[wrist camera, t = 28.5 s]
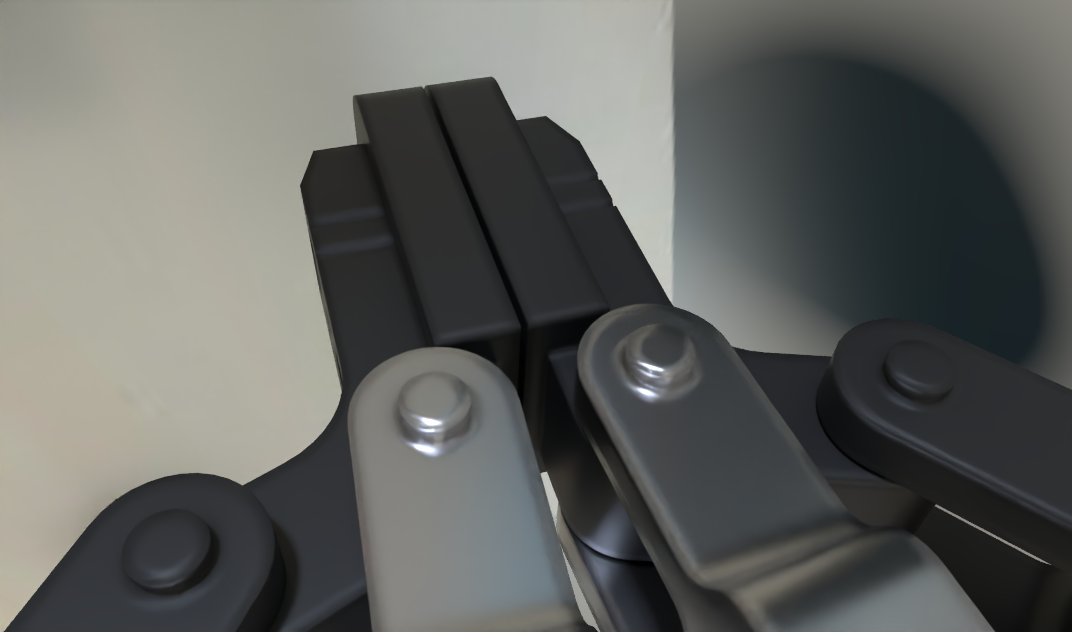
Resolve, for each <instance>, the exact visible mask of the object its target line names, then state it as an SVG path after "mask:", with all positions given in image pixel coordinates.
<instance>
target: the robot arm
mask: <svg viewBox="0 0 1072 632" xmlns="http://www.w3.org/2000/svg"><path fill="white" fill-rule="evenodd" d="M353 109H354V119H355V127H356V136H357V145H350V146H343V147H337V148H330V149H323V150H317V151H313V154H312V156H311V159H310V161H309V164H308V167H307V169H306V172H305V174H304V177H303V180H302V182H301V185H300V188H301V193H302V199H303V204H304V209H305V215H306V220H307V226H308V231H309V237H310V242H311V247H312V253H313V258H314V264H315V269H316V274H317V280H318V285H319V290H320V295H321V299H322V304H323V309H324V313H325V318H326V322H327V326H328V331H329V336H330V340H331V345H332V349H333V354H334V358H335V363H336V367H337V372H338V377H339V381H340V386H341V390H342V394H341V398H340V402H339V405H338V408H337V410H336V412H335V414H334V416H333V418H332V420H331V421H330V423H329V424H328V426H327V427H326V429H325V430H324V431H323V433H322V434H321V435H320V436H319V437H318V438H317V439H316V440H315V441H314V442H313V443H312V444H311V445H310V446H308V447H307V448H306V449H305V450H304V451H302V452H301V453H300V454H298V455H297V456H295V457H293V458H292V459H290V460H289V461H287V462H285V463H284V464H282V465H280V466H278V467H276V468H274V469H273V470H271V471H269V472H267V473H265V474H263V475H262V476H260V477H258V478H256V479H254V480H252V481H251V482H249V483H247V484H245V485H243V486H242V485H240V484H238V483H236V482H234V481H232V480H230V479H227V478H224V477H220V476H216V475H211V474H202V473H189V474H178V475H172V476H167V477H163V478H160V479H157V480H153V481H150V482H147V483H145V484H143V485H141V486H139V487H137V488H135V489H132V490H131V491H129V492H127V493H126V494H124V495H123V496H121V497H120V498H118V499H116V500H115V501H114V502H113V503H111V504H110V505H109V506H108V507H107V508H105V509H104V510H103V511H102V512H101V513H100V514H99V515H98V516H97V517H96V518H95V519H94V520H93V522H92V523H91V524H90V525H89V526H88V527H87V528H86V530H85V531H84V532H83V533H82V535H81V536H80V537H79V538H78V540H77V541H76V542H75V543H74V545H73V546H72V547H71V548H70V550H69V551H68V552H67V553H66V555H65V556H64V557H63V558H62V560H61V561H60V562H59V563H58V565H57V566H56V567H55V568H54V570H53V571H52V572H51V573H50V575H49V576H48V577H47V578H46V580H45V581H44V582H43V583H42V585H41V586H40V587H39V588H38V590H37V591H36V592H35V593H34V595H33V596H32V597H31V598H30V600H29V601H28V602H27V603H26V605H25V606H24V607H23V608H22V610H21V611H20V612H19V613H18V615H17V616H16V617H15V618H14V620H13V621H12V622H11V623H10V625H9V626H8V627H7V628H6V630H5V631H4V632H598V631H597V630H596V629H595V628H594V627H593V626H590V625H588V624H587V623H586V622H585V621H584V620H583V617H582V615H581V613H580V610H579V608H578V605H577V602H576V599H575V595H574V592H573V588H572V585H571V581H570V578H569V574H568V571H567V567H566V563H565V560H564V556H563V553H562V549H563V552H564V553H565V556H566V558H567V560H568V562H569V565H570V567H571V569H572V571H573V573H574V575H575V577H576V580H577V582H578V584H579V586H580V589H581V591H582V593H583V595H584V597H585V599H586V602H587V604H588V606H589V608H590V610H591V612H592V615H593V617H594V619H595V621H596V623H597V625H598V628H599V630H600V632H1072V390H1071V389H1069V388H1066V387H1064V386H1062V385H1060V384H1058V383H1055V382H1053V381H1051V380H1049V379H1047V378H1044V377H1042V376H1040V375H1038V374H1036V373H1033V372H1031V371H1029V370H1027V369H1024V368H1022V367H1020V366H1018V365H1016V364H1014V363H1011V362H1009V361H1007V360H1005V359H1003V358H1000V357H998V356H996V355H994V354H992V353H990V352H987V351H985V350H983V349H981V348H978V347H976V346H974V345H972V344H970V343H967V342H965V341H963V340H961V339H959V338H956V337H954V336H952V335H950V334H948V333H946V332H944V331H941V330H939V329H936V328H934V327H931V326H929V325H926V324H922V323H919V322H915V321H910V320H903V319H878V320H872V321H869V322H865V323H862V324H860V325H858V326H856V327H854V328H852V329H851V330H850V331H848V332H847V333H846V334H845V335H844V336H843V337H842V338H841V340H840V341H839V342H838V345H837V347H836V349H835V351H834V353H833V356H832V357H829V356H811V355H796V354H780V353H764V352H756V351H748V350H744V349H739V348H736V347H732V346H731V345H730V343H729V342H728V341H727V339H725V337H724V336H723V335H722V333H721V332H719V331H718V330H717V329H716V328H715V327H714V326H713V325H711V324H710V323H709V322H707V321H705V320H704V319H702V318H700V317H699V316H697V315H695V314H693V313H691V312H688V311H686V310H683V309H680V308H677V307H674V306H673V305H672V303H671V302H670V301H669V299H668V297H667V295H666V293H665V292H664V290H663V288H662V286H661V285H660V283H659V281H658V279H657V277H656V276H655V274H654V272H653V270H652V269H651V267H650V265H649V263H648V262H647V260H646V258H645V256H644V254H643V253H642V251H641V249H640V247H639V246H638V244H637V242H636V240H635V239H634V237H633V235H632V233H631V231H630V230H629V228H628V226H627V224H626V223H625V221H624V219H623V217H622V216H621V214H620V212H619V210H618V208H617V207H616V206H613V203H612V198H611V196H610V194H609V193H608V191H607V189H606V187H605V185H604V184H603V182H602V180H598V173H597V171H596V170H595V168H594V166H593V164H592V162H591V161H590V159H589V157H588V155H587V154H586V152H585V150H584V148H583V146H582V145H581V143H580V141H578V140H577V139H576V138H574V137H573V136H572V135H570V134H569V133H568V132H566V131H565V130H564V129H562V128H561V127H560V126H558V125H557V124H556V123H554V122H553V121H552V120H550V119H549V118H548V117H546V116H543V117H536V118H529V119H523V120H516V119H515V117H514V115H513V113H512V111H511V109H510V107H509V105H508V103H507V101H506V99H505V97H504V95H503V93H502V91H501V89H500V87H499V85H498V83H497V81H496V80H495V79H494V78H493V77H485V78H478V79H471V80H463V81H456V82H448V83H441V84H434V85H427V86H425V88H424V89H423V87H414V88H406V89H399V90H392V91H384V92H377V93H370V94H362V95H355V96H353ZM542 472H547V473H548V475H549V478H550V481H551V483H552V486H553V489H554V491H555V494H556V496H557V499H558V502H559V503H558V511H557V522H556V528H557V531H556V528H555V524H554V521H553V517H552V513H551V510H550V506H549V503H548V499H547V496H546V492H545V488H544V485H543V481H542V478H541V474H540V473H542ZM936 504H937V505H939V506H941V507H943V508H945V509H946V510H948V511H950V512H952V513H954V514H956V515H958V516H960V517H962V518H964V519H966V520H967V521H969V522H971V523H973V524H975V525H977V526H979V527H981V528H983V529H984V530H986V531H989V532H990V533H992V534H994V535H996V536H998V537H1000V538H1002V539H1003V540H1005V541H1007V542H1009V543H1011V544H1013V545H1015V546H1017V547H1019V548H1021V549H1023V550H1024V551H1026V552H1028V553H1030V554H1032V555H1034V556H1036V557H1038V558H1040V559H1042V560H1044V561H1045V562H1047V563H1049V564H1051V565H1049V564H1046V563H1043V562H1040V561H1038V560H1035V559H1034V558H1032V557H1030V556H1028V555H1026V554H1024V553H1022V552H1020V551H1019V550H1017V549H1015V548H1013V547H1011V546H1009V545H1007V544H1005V543H1003V542H1001V541H1000V540H998V539H996V538H994V537H992V536H990V535H988V534H986V533H984V532H983V531H981V530H979V529H977V528H975V527H973V526H971V525H969V524H967V523H965V522H964V521H962V520H960V519H958V518H956V517H954V516H952V515H950V514H948V513H946V512H944V511H943V510H941V509H939V508H937V507H935V505H936ZM560 544H561V546H560ZM561 547H562V549H561Z"/></svg>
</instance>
